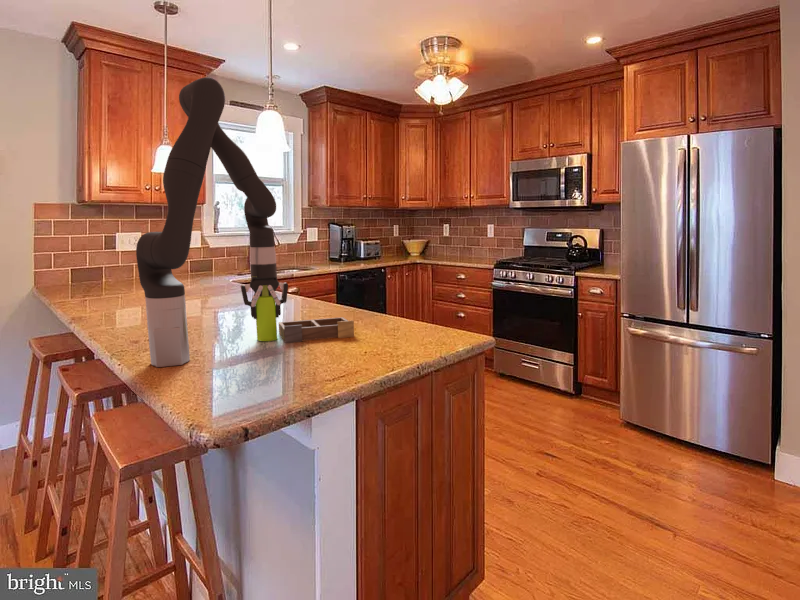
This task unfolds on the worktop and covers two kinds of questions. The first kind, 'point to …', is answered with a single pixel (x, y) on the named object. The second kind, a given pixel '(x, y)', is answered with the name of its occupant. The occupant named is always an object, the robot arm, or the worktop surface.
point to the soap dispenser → (266, 316)
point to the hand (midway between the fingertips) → (266, 317)
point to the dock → (316, 329)
